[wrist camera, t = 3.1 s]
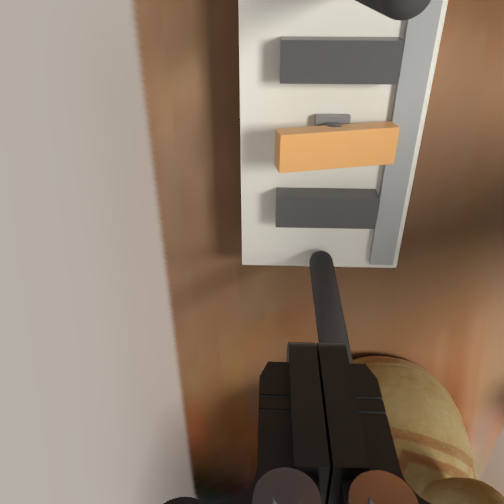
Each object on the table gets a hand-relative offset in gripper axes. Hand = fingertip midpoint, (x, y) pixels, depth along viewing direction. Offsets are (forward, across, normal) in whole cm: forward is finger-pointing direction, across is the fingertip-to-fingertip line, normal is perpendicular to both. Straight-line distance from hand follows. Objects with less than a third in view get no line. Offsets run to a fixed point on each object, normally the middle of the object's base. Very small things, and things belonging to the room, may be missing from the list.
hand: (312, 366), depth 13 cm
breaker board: (+22, -2, 0) cm, 22 cm away
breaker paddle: (+18, -2, 0) cm, 18 cm away
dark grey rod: (+19, -2, +8) cm, 21 cm away
